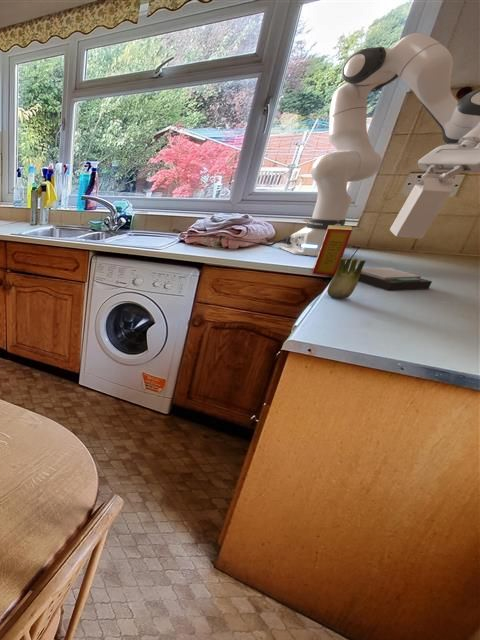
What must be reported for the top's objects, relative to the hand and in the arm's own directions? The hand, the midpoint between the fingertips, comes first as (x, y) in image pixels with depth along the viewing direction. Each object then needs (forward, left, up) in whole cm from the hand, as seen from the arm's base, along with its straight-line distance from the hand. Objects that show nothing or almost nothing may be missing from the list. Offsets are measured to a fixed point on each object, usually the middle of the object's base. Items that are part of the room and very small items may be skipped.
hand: (432, 179), depth 137 cm
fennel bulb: (+22, -37, -31) cm, 53 cm away
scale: (+8, -9, -31) cm, 33 cm away
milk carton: (-2, +1, -17) cm, 18 cm away
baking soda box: (-9, -17, -31) cm, 37 cm away
